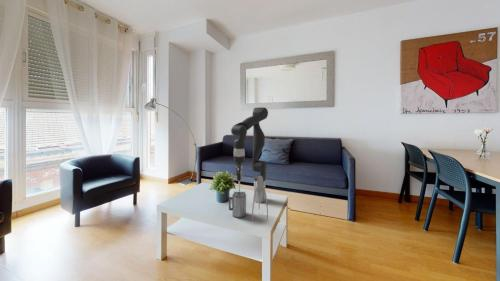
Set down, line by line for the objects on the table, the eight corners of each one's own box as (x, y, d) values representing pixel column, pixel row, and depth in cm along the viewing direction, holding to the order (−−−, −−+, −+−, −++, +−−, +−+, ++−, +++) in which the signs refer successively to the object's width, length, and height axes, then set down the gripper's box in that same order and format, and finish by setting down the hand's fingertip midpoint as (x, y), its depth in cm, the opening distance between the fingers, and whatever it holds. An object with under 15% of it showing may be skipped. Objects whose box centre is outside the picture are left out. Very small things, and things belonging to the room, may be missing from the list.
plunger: (234, 196, 145) (234, 171, 142) (244, 196, 144) (244, 172, 142) (233, 200, 138) (233, 174, 136) (243, 200, 138) (243, 174, 135)
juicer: (266, 214, 144) (266, 172, 140) (267, 220, 135) (268, 176, 131) (251, 214, 143) (251, 172, 140) (252, 220, 134) (252, 176, 131)
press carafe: (245, 218, 138) (245, 196, 136) (228, 217, 138) (227, 196, 136) (246, 211, 147) (246, 191, 145) (230, 211, 148) (230, 191, 146)
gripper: (234, 152, 145) (235, 176, 147) (232, 156, 131) (232, 182, 133) (245, 153, 144) (245, 176, 146) (243, 157, 130) (243, 183, 132)
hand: (239, 179), depth 139 cm, fingers closed on plunger, 3 cm apart
